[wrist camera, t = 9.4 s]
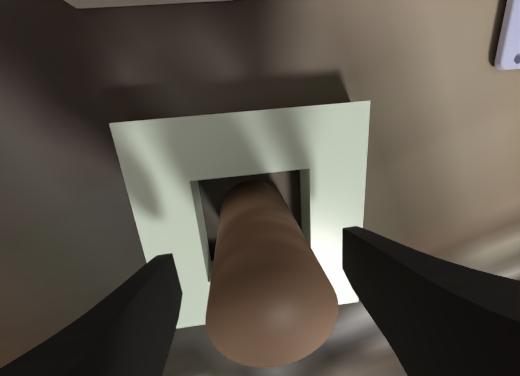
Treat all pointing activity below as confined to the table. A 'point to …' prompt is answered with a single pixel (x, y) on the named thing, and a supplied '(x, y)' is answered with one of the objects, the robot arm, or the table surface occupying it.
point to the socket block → (126, 2)
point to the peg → (266, 283)
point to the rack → (238, 164)
